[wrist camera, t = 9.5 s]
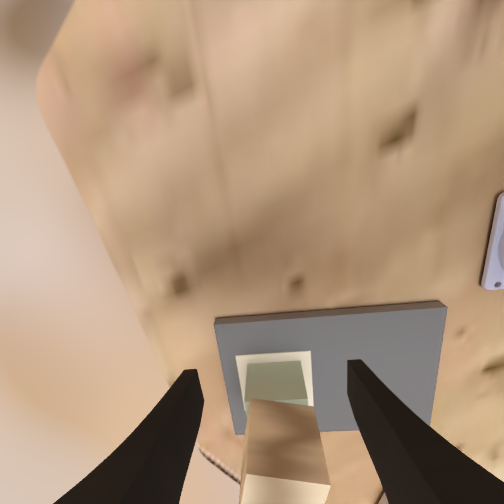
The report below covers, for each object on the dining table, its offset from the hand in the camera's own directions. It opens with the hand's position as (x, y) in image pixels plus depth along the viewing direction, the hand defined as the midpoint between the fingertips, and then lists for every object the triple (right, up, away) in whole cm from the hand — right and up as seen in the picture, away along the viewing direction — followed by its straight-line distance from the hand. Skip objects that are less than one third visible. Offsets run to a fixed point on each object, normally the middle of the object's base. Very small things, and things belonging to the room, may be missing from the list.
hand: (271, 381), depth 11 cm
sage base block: (+1, -7, +12) cm, 14 cm away
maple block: (+1, -8, +8) cm, 11 cm away
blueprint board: (+6, -6, +12) cm, 15 cm away
